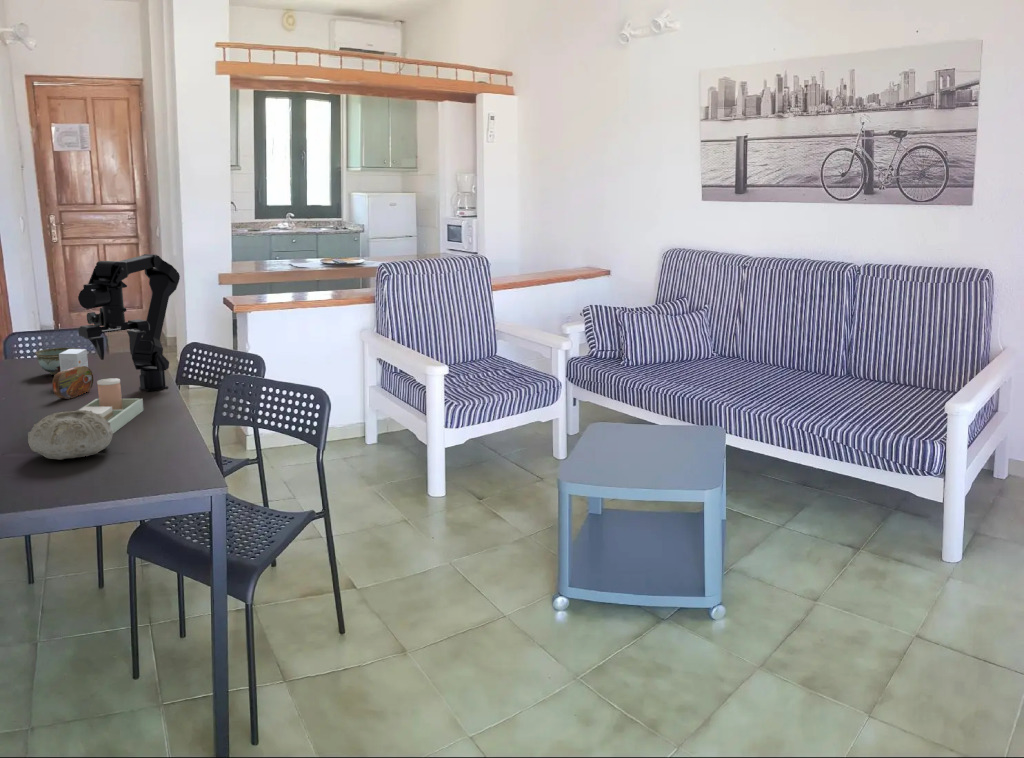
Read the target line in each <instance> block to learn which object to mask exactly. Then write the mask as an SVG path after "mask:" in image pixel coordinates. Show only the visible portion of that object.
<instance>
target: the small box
mask: <svg viewBox="0 0 1024 758" xmlns="http://www.w3.org/2000/svg"><path fill="white" fill-rule="evenodd" d="M59 362H60V370H61V371H64V370H67V369H71V368H74V367H78V366H86V367H88V368H89V363H88V362H89V361H88V352H87V349H86V348H79V349H68V350H66V351H64V352H62V353H60V354H59Z"/></svg>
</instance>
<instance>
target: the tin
mask: <svg viewBox="0 0 1024 758" xmlns="http://www.w3.org/2000/svg"><path fill="white" fill-rule="evenodd" d="M51 383H52V386H51V387H52V391H53V394H54V396H55V397H57V398H59V399H66V400H71V399H73V398H76V397H78V395H79V396H81V394H82V395H84V394H83V393H85V394H87V393H89V392H90V391H91V389H92V388H93V384H94V374H93V372H92V369H90V367H89V366H88V367H86V366H78V367H74V368H71V369H67V370H64V371H61V372H58V373H57V374H56V375H55V376H53V378H52V381H51ZM86 392H87V393H86ZM70 398H71V399H70Z"/></svg>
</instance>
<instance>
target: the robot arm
mask: <svg viewBox="0 0 1024 758" xmlns="http://www.w3.org/2000/svg"><path fill="white" fill-rule="evenodd" d="M95 264H96V265H95V266H94V268H93V270H92V272H91V273H92V274H91V276H90V278H89V281H88V283H85V284H83V285H82V286H83V289H81V290H80V291H79V293H78V296H77V299H78V303H79V304H80V306H81V307H82V308H83V309H86V310H91V309H96V308H99V313H96V312H95V311H90V312H87V313H86V323H87V325H80V327H78V336H79V337H82V338H84V339H86V340H89V341H90V343H91V344H92V345H93V347H94V349H95V351H96V353H97V356H98V357H99V359H100V360H102V361H104V359H105V349H104V348H105V345H104V343H105V342H104V337H103V336H101V335H102V334H106V333H107V334H108V333H113V332H120V331H121V332H122V331H126V333H127V335H128V338H129V352H130V355H131V359H132V362H133V365H134V367H135V368H134V369H135V370H136V371H138V370H140V374H139V387H138V388H139V389H140V390H144V391H147V392H153V391H158V390H163V389H168V388H169V386H168V385H166V375H165V371H167V370H168V369H169V368H170V360H168V358H166V356H164V354H163V353H164V349H163V348H164V347H163V345H162V343H161V335H162V332H163V327H164V322H165V317H166V312H167V309H168V304H169V300H170V299H169V298H170V297H171V296H172V294H173V293H174V292H175V291H176V290H177V287H178V285H179V282H180V280H181V279H180V277H181V276H180V273H179V272H178V270H177V269H176V268H175V267H174V266H173V265H172V264H170V263H169V262H167V261H166V260H164V259H162V258H161V257H160V256H159V255H158V254H151V253H145V254H141V255H139V256H135V257H131V258H127V259H123V260H116V261H115V260H99V261H97V262H96V263H95ZM141 271H144V274H145V276H146V277H147V278H148V279H149V281H148V284H149V287H150V290H151V291H152V292H151V293H152V294H151V298H150V303H149V307H148V312H147V317H146V320H143V319H137V318H136V319H130V320H128V321H126V318H125V313H126V312H128V311H127V308H126V307H125V305H124V297H123V295H124V293H123V289H124V288H127V287H128V285H127V283H125V282H123V280H126V279H127V278H128V277H129V275H130V274H134V273H139V272H141Z"/></svg>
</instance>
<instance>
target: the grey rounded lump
mask: <svg viewBox="0 0 1024 758" xmlns="http://www.w3.org/2000/svg"><path fill="white" fill-rule="evenodd" d="M113 435H114V433H113V431H112V428H111V426H110V422H108V421H107V420H106V419H104V418H103V417H102V416H100V415H99V414H96V413H93V412H92V411H87V410H79V409H77V410H73V411H61V412H54V413H51V414H49V415H46V416H45V417H43V418H41V420H39V421H38V422H37V423H34V424H33V427H32V428H31V431H28V432H27V437H28V438H27V442H28V445H29V447H30V450H31V451H32V452H34V453H38V454H39V455H41V456H43V457H45V458H46V459H49V460H50V459H51V460H58V461H59V460H64V459H75V458H82V457H83V458H84V457H85V456H86V457H89V456H93V455H96V454H98V453H99V452H101V451H104V449H106V448H107V447H108V446H109V445H110V444H111V443H112V442H111V441H112V439H113ZM86 457H85V458H86Z"/></svg>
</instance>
